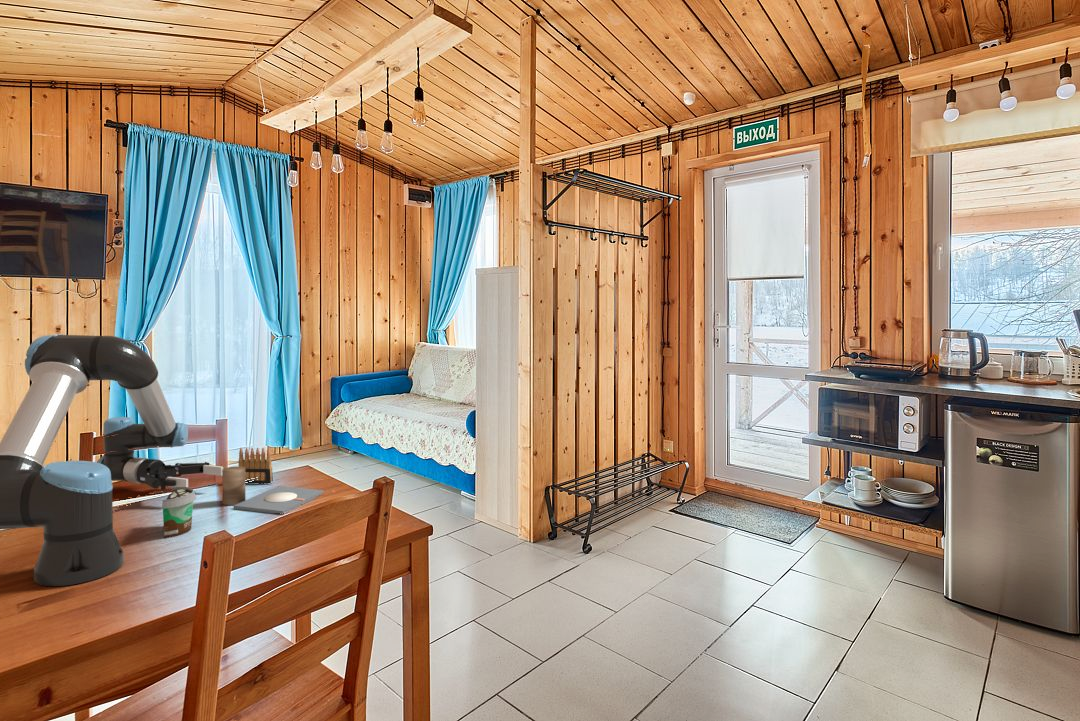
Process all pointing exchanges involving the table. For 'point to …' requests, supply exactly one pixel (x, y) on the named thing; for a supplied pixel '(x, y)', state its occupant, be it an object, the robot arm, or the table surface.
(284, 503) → the seat board
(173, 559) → the table surface
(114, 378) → the robot arm
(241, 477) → the brown cylinder
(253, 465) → the ammunition clip
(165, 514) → the food container
